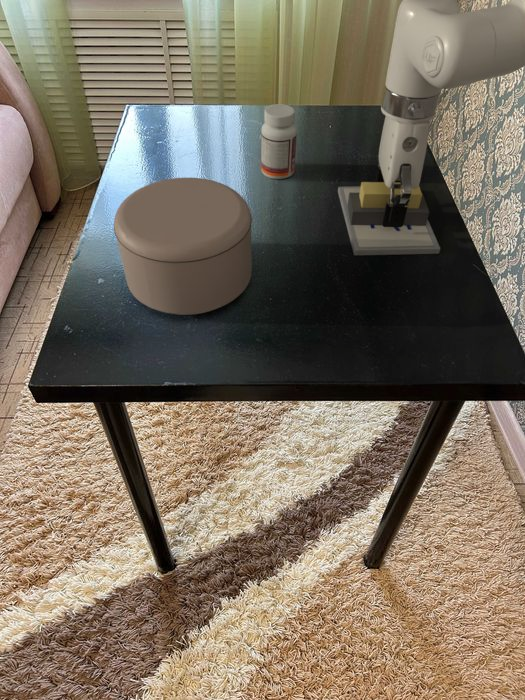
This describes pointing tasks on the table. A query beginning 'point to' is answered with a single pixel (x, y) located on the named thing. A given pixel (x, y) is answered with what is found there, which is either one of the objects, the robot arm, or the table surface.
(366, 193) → the eraser
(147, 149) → the table surface
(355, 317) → the table surface
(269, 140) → the pill bottle
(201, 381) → the table surface
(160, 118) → the table surface
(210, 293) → the container
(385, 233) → the whiteboard
